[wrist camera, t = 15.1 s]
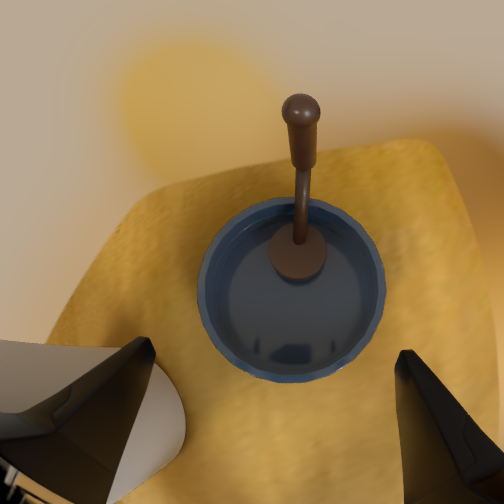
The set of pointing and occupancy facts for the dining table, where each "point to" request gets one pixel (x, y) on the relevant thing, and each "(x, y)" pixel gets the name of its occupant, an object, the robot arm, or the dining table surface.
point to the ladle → (300, 197)
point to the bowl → (290, 295)
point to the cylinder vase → (74, 366)
